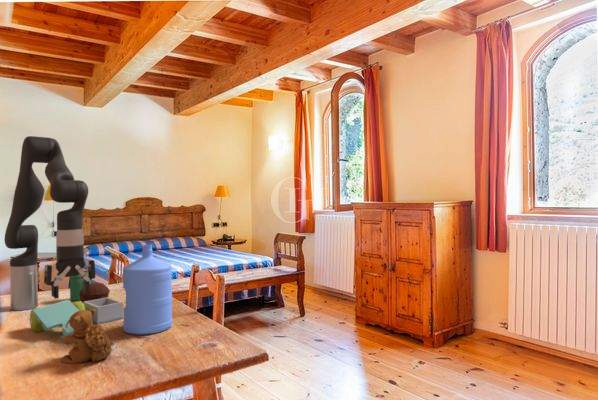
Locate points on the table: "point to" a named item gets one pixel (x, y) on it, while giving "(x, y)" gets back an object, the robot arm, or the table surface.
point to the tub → (105, 310)
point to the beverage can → (76, 287)
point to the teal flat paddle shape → (56, 316)
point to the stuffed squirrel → (86, 339)
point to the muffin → (94, 292)
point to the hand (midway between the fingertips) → (70, 295)
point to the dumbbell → (38, 326)
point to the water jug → (147, 295)
